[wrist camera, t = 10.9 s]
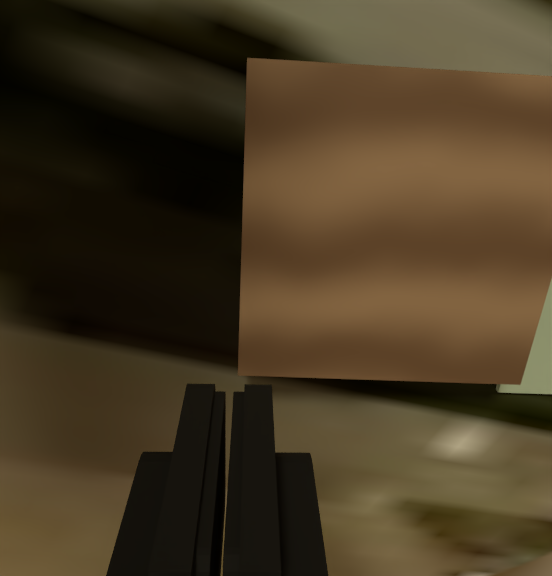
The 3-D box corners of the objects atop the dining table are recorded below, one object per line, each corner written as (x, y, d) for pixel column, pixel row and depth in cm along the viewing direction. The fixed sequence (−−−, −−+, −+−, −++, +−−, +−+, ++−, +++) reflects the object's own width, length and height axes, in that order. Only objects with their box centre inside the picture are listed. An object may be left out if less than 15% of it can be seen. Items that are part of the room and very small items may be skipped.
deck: (249, 59, 25) (247, 57, 21) (560, 78, 26) (609, 79, 22) (240, 339, 31) (237, 375, 28) (491, 349, 32) (520, 384, 28)
